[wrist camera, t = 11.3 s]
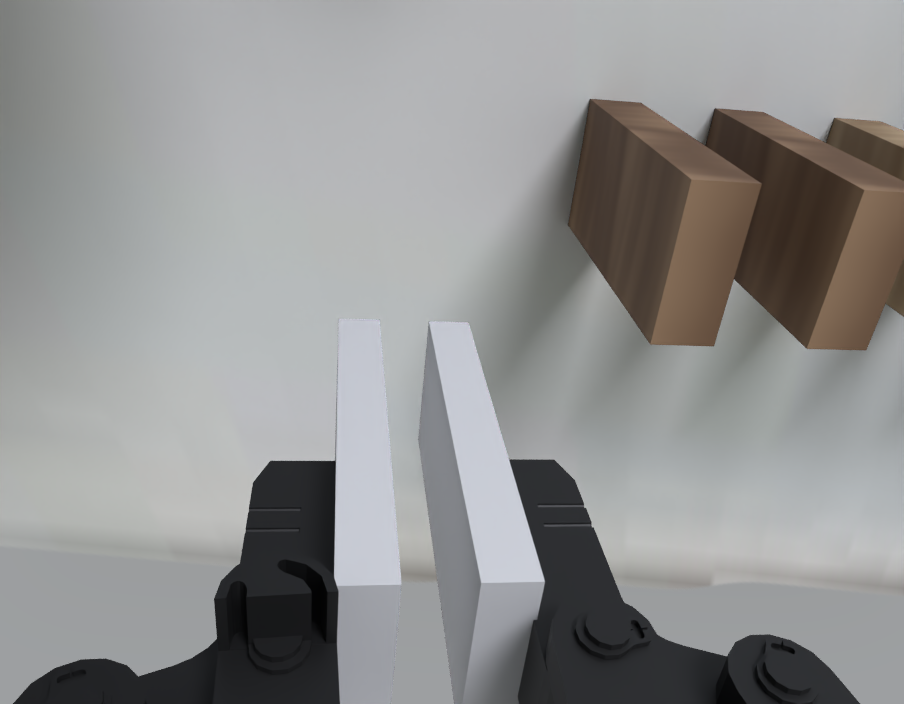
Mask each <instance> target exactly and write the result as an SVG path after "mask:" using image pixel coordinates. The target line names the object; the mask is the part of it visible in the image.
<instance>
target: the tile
mask: <svg viewBox="0 0 904 704" xmlns="http://www.w3.org/2000/svg"><path fill="white" fill-rule="evenodd" d="M826 143H827V144H829V145H831V146H833V147H835V148H837V149H839V150H841V151H843V152H845V153H847V154H849V155H851V156H853V157H855V158H858V159H860V160H862V161H864V162H866V163H868V164H870V165H872V166H874V167H876V168H878V169H880V170H882V171H884V172H886V173H888V174H890V175H892V176H894V177H896V178H898V179H900V180H902V181H904V131H903V130H900V129H898V128H895V127H893V126H890V125H888V124H885V123H883V122H880V121H867V120H854V119H841V118H834V121H833V124H832V127H831V130H830V133H829V136H828V139H827V142H826ZM886 304H887V305H888V306H890V307H891V308H892V309H894V310H895V311H897V312H898V313H899V314H901V315H902V316H903V317H904V259H903V261H902V264H901V266H900V269H899V271H898V273H897V276H896V278H895V281H894V283H893V286H892V288H891V291H890V293H889V296H888V298H887V300H886Z"/></svg>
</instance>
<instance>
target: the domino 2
mask: <svg viewBox="0 0 904 704" xmlns="http://www.w3.org/2000/svg"><path fill="white" fill-rule="evenodd" d="M706 147H708V148H709V149H711V150H712V151H714V152H715V153H717V154H718V155H720V156H721V157H723V158H724V159H726V160H727V161H729V162H730V163H732V164H733V165H735V166H736V167H738V168H739V169H741V170H742V171H744V172H745V173H747V174H748V175H750V176H751V177H753V178H754V179H755V180H757V181H758V182H760V183H761V184H762V185H761V189H760V192H759V195H758V199H757V202H756V205H755V209H754V212H753V216H752V219H751V222H750V226H749V229H748V232H747V236H746V239H745V243H744V246H743V249H742V253H741V256H740V260H739V263H738V266H737V270H736V273H735V276H734V279H735V280H736V281H737V282H738V283H739V284H740V285H741V286H742V287H743V288H744V289H745V290H746V291H747V292H748V293H749V294H750V295H751V296H752V297H753V298H754V299H755V300H756V301H758V302H759V303H760V304H761V305H762V306H763V307H764V308H765V309H766V310H767V311H768V312H769V313H770V314H771V315H772V316H773V317H774V318H775V319H776V320H777V321H778V322H779V323H781V324H782V325H783V326H784V327H785V328H786V329H787V330H788V331H789V332H790V333H791V334H792V335H793V336H794V337H795V338H796V339H797V340H798V341H799V342H800V343H801V344H802V345H803V346H805V347H806V348H807V349H836V350H867V347H868V345H869V342H870V340H871V337H872V335H873V332H874V330H875V328H876V325H877V323H878V320H879V318H880V315H881V313H882V310H883V308H884V305H885V303H886V300H887V298H888V296H889V293H890V291H891V288H892V286H893V283H894V281H895V278H896V276H897V273H898V271H899V269H900V266H901V264H902V261H903V259H904V181H902V180H900V179H898V178H896V177H894V176H892V175H890V174H888V173H886V172H884V171H882V170H880V169H878V168H876V167H874V166H872V165H870V164H868V163H866V162H864V161H862V160H860V159H858V158H855V157H853V156H851V155H849V154H847V153H845V152H843V151H841V150H839V149H837V148H835V147H833V146H831V145H829V144H827V143H825V142H823V141H821V140H819V139H817V138H815V137H813V136H811V135H809V134H807V133H805V132H803V131H801V130H799V129H797V128H794V127H792V126H790V125H788V124H786V123H784V122H782V121H780V120H778V119H776V118H774V117H772V116H770V115H768V114H766V113H764V112H755V111H742V110H729V109H715V111H714V115H713V119H712V123H711V126H710V130H709V134H708V138H707V142H706Z"/></svg>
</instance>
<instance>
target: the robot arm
mask: <svg viewBox="0 0 904 704" xmlns="http://www.w3.org/2000/svg"><path fill="white" fill-rule="evenodd" d="M418 441H419V448H420V456H421V463H422V470H423V478H424V485H425V492H426V500H427V507H428V515H429V522H430V529H431V537H432V544H433V551H434V559H435V566H436V573H437V581H438V587H439V595H440V602H441V610H442V617H443V624H444V632H445V639H446V647H447V654H448V662H449V669H450V676H451V684H452V691H453V698H454V704H860V703H859V702H858V701H857V700H856V698H855V697H854V696H853V695H852V694H851V693H850V691H849V690H848V689H847V688H846V687H845V685H844V684H843V683H842V682H841V681H840V680H839V678H838V677H837V676H836V675H835V674H834V673H833V671H832V670H831V669H830V668H829V667H828V666H827V665H826V664H825V663H823V662H822V661H821V660H820V659H819V658H818V657H817V656H815V654H814V653H812V652H811V651H809V650H807V649H805V648H804V647H802V646H800V645H798V644H796V643H795V642H792V641H791V640H787V639H783V638H780V637H776V636H773V635H750V636H747V637H745V638H743V639H741V640H739V641H737V642H735V644H734V646H733V647H732V649H731V651H730V652H729V654H728V656H723V655H719V654H714V653H710V652H706V651H702V650H698V649H694V648H690V647H686V646H683V645H680V644H676V643H674V642H671V641H668V640H665V639H664V638H662V637H660V636H658V635H657V634H656V632H655V631H654V629H653V627H652V626H651V624H650V622H649V621H648V620H647V619H646V618H645V617H644V616H643V615H642V614H640V613H639V612H638V611H637V610H636V609H635V608H633V607H632V606H630V605H628V604H625V603H624V601H623V600H622V598H621V595H620V593H619V590H618V588H617V585H616V583H615V580H614V578H613V575H612V573H611V570H610V568H609V565H608V563H607V560H606V558H605V555H604V553H603V550H602V548H601V545H600V543H599V540H598V538H597V535H596V533H595V530H594V528H592V526H591V523H592V522H591V520H590V517H589V515H588V512H587V510H586V508H584V502H583V500H582V497H581V495H580V492H579V490H578V487H577V485H576V482H575V480H574V479H573V478H572V477H571V476H570V475H569V474H568V473H567V472H566V471H565V470H564V469H563V468H562V467H561V466H560V465H559V464H558V463H557V462H556V461H555V460H509V458H508V454H507V451H506V448H505V444H504V441H503V437H502V434H501V431H500V427H499V424H498V421H497V417H496V414H495V410H494V407H493V404H492V400H491V397H490V393H489V390H488V387H487V383H486V380H485V376H484V373H483V370H482V366H481V363H480V359H479V356H478V353H477V349H476V346H475V343H474V339H473V336H472V332H471V329H470V326H469V322H439V321H429V326H428V337H427V348H426V359H425V370H424V381H423V392H422V403H421V414H420V425H419V436H418ZM400 596H401V573H400V561H399V548H398V536H397V524H396V512H395V500H394V487H393V475H392V463H391V451H390V439H389V426H388V414H387V402H386V390H385V378H384V365H383V353H382V341H381V329H380V320H373V319H340V318H339V326H338V364H337V402H336V439H335V461H270V462H269V463H268V465H267V466H266V467H265V468H264V470H263V471H262V472H261V473H260V475H259V476H258V477H257V478H256V480H255V481H254V482H253V487H252V493H251V499H250V505H249V512H248V518H247V524H246V533H245V537H244V543H243V549H242V555H241V561H240V564H239V565H237V566H236V567H235V568H234V569H233V570H232V571H231V572H230V573H229V574H228V575H227V576H226V577H225V578H224V579H223V580H222V581H221V583H220V585H219V588H218V591H217V593H216V595H215V598H214V602H215V616H216V628H217V639H216V640H215V642H213V643H212V644H211V645H210V646H209V647H208V648H207V649H205V650H204V651H202V652H201V653H199V654H198V655H196V656H195V657H193V658H191V659H189V660H186V661H184V662H181V663H179V664H177V665H174V666H172V667H168V668H165V669H161V670H158V671H155V672H152V673H148V674H145V675H142V676H139V677H138V676H137V675H136V674H135V673H134V672H133V671H132V670H131V669H130V668H129V667H128V666H127V665H124V664H121V663H118V662H115V661H112V660H108V659H87V660H86V659H85V660H79V661H76V662H73V663H69V664H66V665H63V666H60V667H57V668H55V669H53V670H52V671H50V672H48V673H47V674H45V675H44V676H42V677H41V678H39V679H37V680H36V681H34V682H33V683H31V684H30V685H29V686H28V688H27V689H26V690H25V691H24V692H23V693H22V694H21V695H20V697H19V698H18V699H17V700H16V701H15V702H14V703H13V704H391V699H392V687H393V675H394V664H395V653H396V642H397V630H398V619H399V607H400Z"/></svg>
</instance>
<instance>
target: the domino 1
mask: <svg viewBox="0 0 904 704" xmlns="http://www.w3.org/2000/svg"><path fill="white" fill-rule="evenodd" d="M761 185H762V184H761V183H760V182H758V181H757V180H755V179H754V178H753V177H751V176H750V175H748V174H747V173H745V172H744V171H742V170H741V169H739V168H738V167H736V166H735V165H733V164H732V163H730V162H729V161H727V160H726V159H724V158H723V157H721V156H720V155H718V154H717V153H715V152H714V151H712V150H711V149H709V148H708V147H706V146H705V145H703V144H702V143H700V142H699V141H697V140H696V139H694V138H693V137H691V136H690V135H688V134H687V133H685V132H684V131H682V130H681V129H679V128H678V127H676V126H675V125H673V124H672V123H670V122H669V121H667V120H666V119H664V118H663V117H661V116H660V115H658V114H657V113H655V112H654V111H652V110H651V109H649V108H648V107H646V106H645V105H643V104H642V103H636V102H623V101H610V100H597V99H590V103H589V109H588V115H587V120H586V126H585V132H584V137H583V143H582V149H581V154H580V160H579V166H578V171H577V177H576V183H575V189H574V194H573V200H572V206H571V211H570V217H569V223H568V226H569V227H570V229H571V230H572V232H573V233H574V235H575V236H576V237H577V239H578V240H579V242H580V243H581V245H582V246H583V248H584V249H585V250H586V252H587V253H588V255H589V256H590V258H591V259H592V261H593V262H594V263H595V265H596V266H597V268H598V269H599V271H600V272H601V274H602V275H603V277H604V278H605V279H606V281H607V282H608V284H609V285H610V287H611V288H612V290H613V291H614V292H615V294H616V295H617V297H618V298H619V300H620V301H621V303H622V304H623V305H624V307H625V308H626V310H627V311H628V313H629V314H630V316H631V317H632V318H633V320H634V321H635V323H636V324H637V326H638V327H639V329H640V330H641V332H642V333H643V334H644V336H645V337H646V339H647V340H648V342H649V343H650V344H654V345H689V346H714V344H715V341H716V337H717V334H718V330H719V327H720V324H721V320H722V317H723V314H724V310H725V307H726V303H727V300H728V297H729V293H730V290H731V287H732V283H733V280H734V276H735V273H736V270H737V266H738V263H739V260H740V256H741V253H742V249H743V246H744V243H745V239H746V236H747V232H748V229H749V226H750V222H751V219H752V216H753V212H754V209H755V205H756V202H757V199H758V195H759V192H760V189H761Z"/></svg>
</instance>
